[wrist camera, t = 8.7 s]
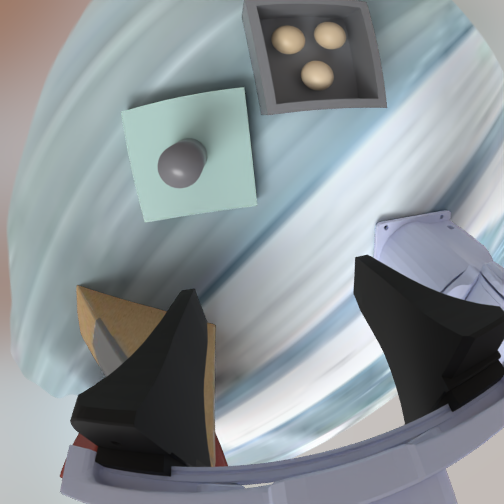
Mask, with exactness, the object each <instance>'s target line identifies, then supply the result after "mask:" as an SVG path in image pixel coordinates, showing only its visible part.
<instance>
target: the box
mask: <svg viewBox="0 0 504 504" xmlns="http://www.w3.org/2000/svg"><path fill="white" fill-rule="evenodd" d="M242 20H243V25H244V29H245V34H246V39H247V43H248V48H249V53H250V58H251V63H252V68H253V73H254V78H255V83H256V88H257V94H258V99H259V104H260V110H261V115H273V114H281V113H289V112H298V111H308V110H321V109H336V108H387V102H386V94H385V86H384V79H383V73H382V67H381V61H380V56H379V50H378V46H377V41H376V36H375V32H374V28H373V24H372V20H371V16H370V13H369V9H368V6H367V2H363V1H357V0H244V5H243V12H242Z"/></svg>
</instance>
